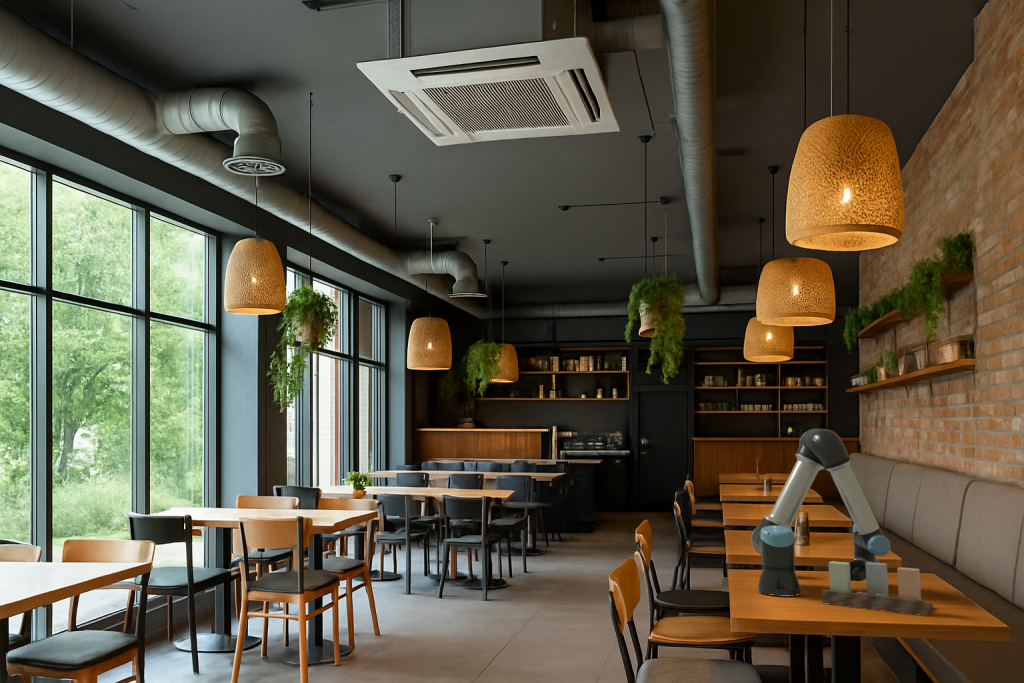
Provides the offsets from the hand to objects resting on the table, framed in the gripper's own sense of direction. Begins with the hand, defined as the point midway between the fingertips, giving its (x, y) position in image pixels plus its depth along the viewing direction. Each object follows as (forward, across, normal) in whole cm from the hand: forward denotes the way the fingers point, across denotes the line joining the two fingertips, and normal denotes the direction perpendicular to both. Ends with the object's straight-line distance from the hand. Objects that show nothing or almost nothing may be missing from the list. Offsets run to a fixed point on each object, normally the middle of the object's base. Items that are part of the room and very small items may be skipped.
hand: (841, 580), depth 283 cm
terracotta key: (+2, -22, -6) cm, 23 cm away
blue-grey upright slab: (-2, -11, -6) cm, 13 cm away
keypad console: (0, -11, -7) cm, 13 cm away
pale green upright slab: (+2, 0, -6) cm, 6 cm away
